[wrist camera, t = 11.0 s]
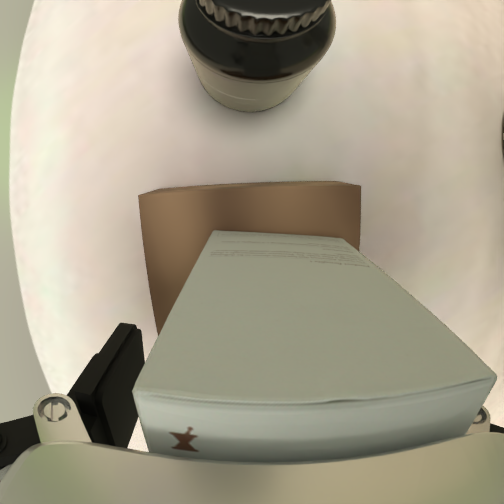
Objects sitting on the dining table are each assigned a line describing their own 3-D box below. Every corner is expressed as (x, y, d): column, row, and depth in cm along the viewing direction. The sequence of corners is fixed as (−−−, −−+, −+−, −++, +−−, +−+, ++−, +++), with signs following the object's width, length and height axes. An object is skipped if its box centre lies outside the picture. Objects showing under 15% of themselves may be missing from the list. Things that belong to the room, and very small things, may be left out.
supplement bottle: (209, 124, 19) (169, 70, 7) (191, 36, 17) (148, -70, 6) (311, 105, 19) (392, 43, 7) (288, 20, 17) (330, -89, 5)
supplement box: (208, 347, 18) (170, 542, 6) (211, 226, 16) (117, 383, 4) (327, 352, 18) (391, 532, 6) (348, 236, 16) (509, 372, 4)
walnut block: (334, 181, 21) (360, 185, 16) (329, 334, 24) (346, 370, 19) (161, 188, 20) (138, 195, 16) (179, 341, 24) (167, 380, 19)
